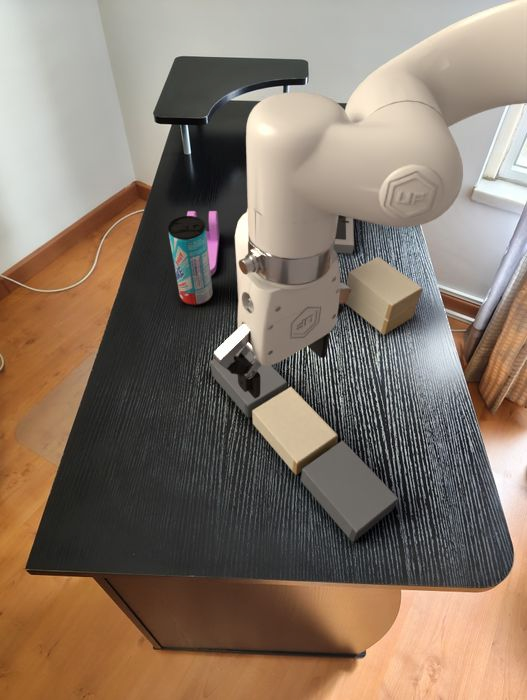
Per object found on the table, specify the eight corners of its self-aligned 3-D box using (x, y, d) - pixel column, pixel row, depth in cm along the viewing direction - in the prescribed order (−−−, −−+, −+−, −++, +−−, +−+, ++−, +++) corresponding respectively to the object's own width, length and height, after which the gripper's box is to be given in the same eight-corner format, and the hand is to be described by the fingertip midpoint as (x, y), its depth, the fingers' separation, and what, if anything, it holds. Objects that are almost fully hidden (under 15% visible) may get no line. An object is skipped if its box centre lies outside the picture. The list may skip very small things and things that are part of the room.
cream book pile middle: (417, 303, 81) (423, 287, 78) (388, 321, 78) (392, 305, 75) (375, 271, 86) (378, 256, 83) (345, 287, 83) (348, 272, 80)
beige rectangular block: (412, 317, 83) (417, 303, 81) (384, 335, 80) (388, 321, 78) (371, 286, 89) (375, 271, 86) (343, 302, 86) (345, 287, 83)
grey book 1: (286, 395, 72) (287, 382, 70) (248, 419, 70) (247, 406, 67) (248, 354, 78) (247, 340, 75) (211, 375, 75) (209, 361, 72)
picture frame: (351, 209, 105) (257, 203, 106) (353, 197, 103) (257, 192, 104) (352, 253, 95) (248, 247, 96) (354, 242, 93) (248, 235, 94)
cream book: (335, 447, 67) (338, 435, 64) (295, 476, 64) (297, 463, 61) (290, 399, 72) (291, 386, 69) (252, 423, 69) (251, 410, 67)
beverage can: (185, 283, 89) (174, 213, 78) (216, 287, 88) (209, 217, 77) (176, 305, 85) (162, 235, 74) (208, 309, 85) (199, 239, 73)
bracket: (192, 237, 98) (188, 207, 93) (219, 236, 98) (216, 207, 93) (185, 278, 90) (180, 248, 85) (215, 278, 90) (212, 248, 85)
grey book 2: (393, 509, 61) (399, 498, 58) (352, 543, 58) (356, 533, 55) (339, 452, 66) (343, 439, 64) (300, 481, 63) (301, 468, 61)
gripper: (234, 314, 37) (241, 430, 50) (389, 235, 44) (360, 355, 57) (184, 264, 41) (203, 383, 54) (334, 198, 48) (318, 318, 61)
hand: (283, 368), depth 55 cm, fingers open, 9 cm apart
